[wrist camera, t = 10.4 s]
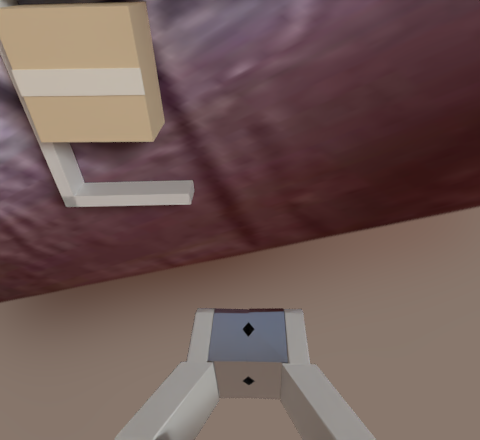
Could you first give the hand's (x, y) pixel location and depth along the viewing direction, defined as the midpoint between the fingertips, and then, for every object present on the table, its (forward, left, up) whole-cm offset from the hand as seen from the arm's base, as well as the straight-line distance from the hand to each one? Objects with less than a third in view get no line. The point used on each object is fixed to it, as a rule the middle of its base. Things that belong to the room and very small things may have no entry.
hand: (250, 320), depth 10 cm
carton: (+12, -2, -23) cm, 26 cm away
